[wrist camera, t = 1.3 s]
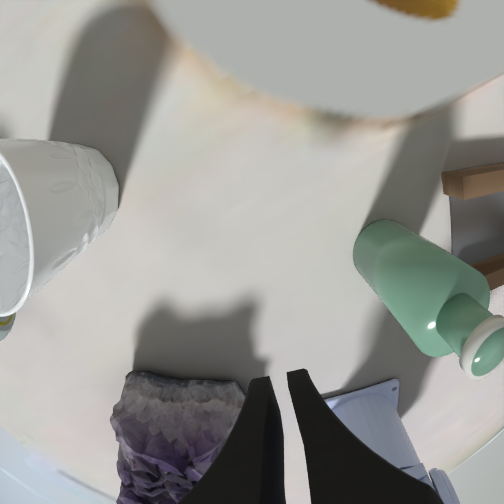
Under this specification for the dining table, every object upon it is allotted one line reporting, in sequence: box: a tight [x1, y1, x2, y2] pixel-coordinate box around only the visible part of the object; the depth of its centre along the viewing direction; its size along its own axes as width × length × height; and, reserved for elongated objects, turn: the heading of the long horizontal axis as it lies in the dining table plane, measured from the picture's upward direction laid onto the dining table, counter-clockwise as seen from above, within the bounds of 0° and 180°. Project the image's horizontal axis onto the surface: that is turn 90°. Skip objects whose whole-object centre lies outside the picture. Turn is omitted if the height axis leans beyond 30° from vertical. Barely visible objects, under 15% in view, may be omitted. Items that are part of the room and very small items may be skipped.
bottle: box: [353, 220, 504, 380], centre depth 14 cm, size 4×4×12 cm
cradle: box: [441, 163, 504, 290], centre depth 18 cm, size 9×10×2 cm
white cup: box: [0, 139, 119, 317], centre depth 13 cm, size 8×8×10 cm
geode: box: [110, 370, 246, 504], centre depth 21 cm, size 20×12×10 cm, turn 159°
